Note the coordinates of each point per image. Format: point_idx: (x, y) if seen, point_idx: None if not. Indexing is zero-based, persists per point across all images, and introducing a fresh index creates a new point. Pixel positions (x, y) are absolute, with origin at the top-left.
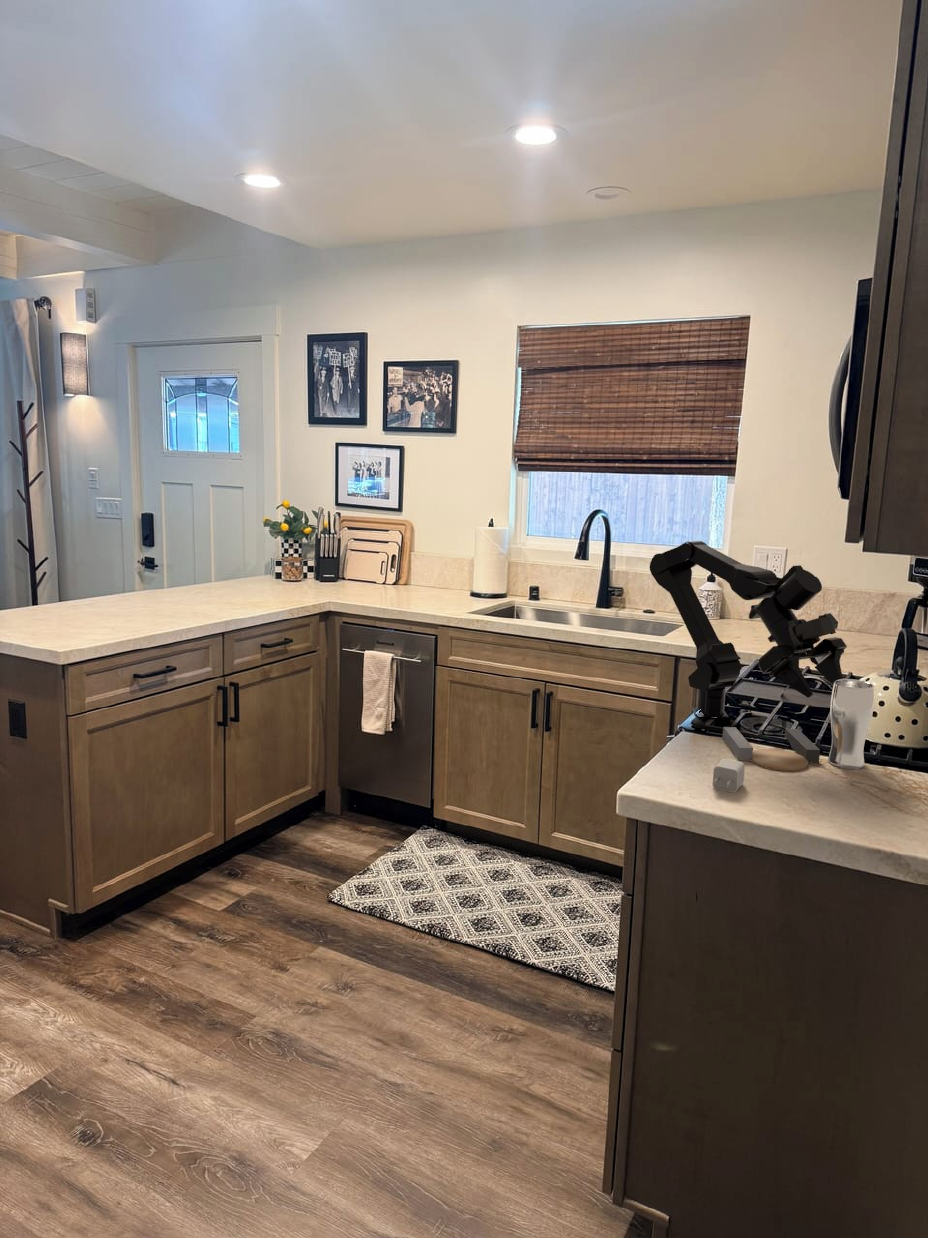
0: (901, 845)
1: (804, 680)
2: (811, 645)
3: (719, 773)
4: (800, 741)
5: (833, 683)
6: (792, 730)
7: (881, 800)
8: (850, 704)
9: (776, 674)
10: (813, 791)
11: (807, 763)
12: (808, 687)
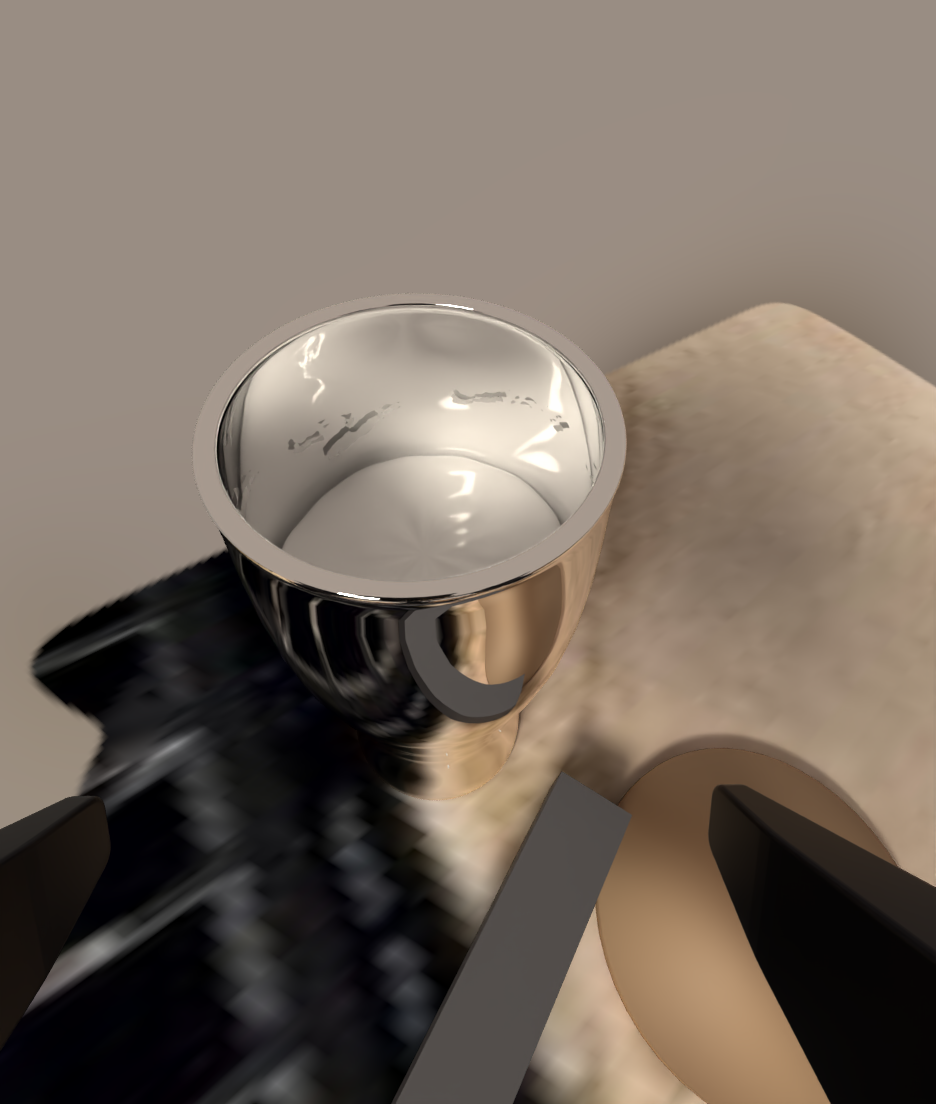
0: (788, 320)
1: (914, 908)
2: None
3: None
4: (554, 961)
5: (3, 1017)
6: None
7: (629, 451)
8: (560, 462)
9: None
10: (807, 579)
11: (657, 769)
12: (802, 829)
